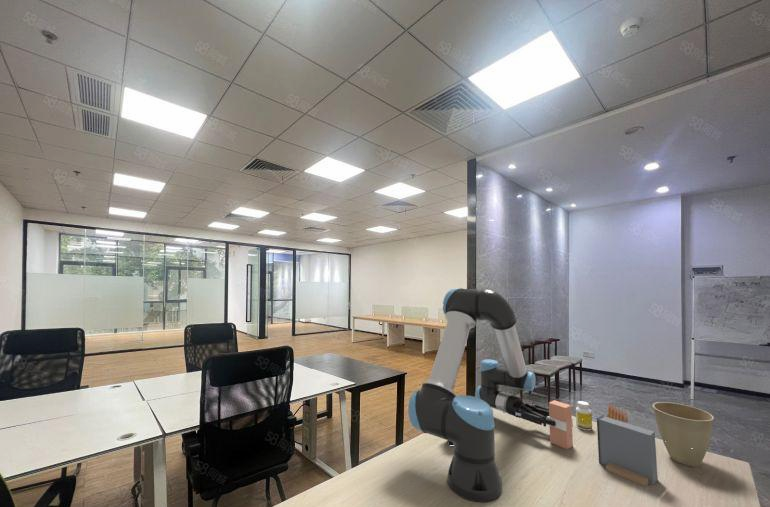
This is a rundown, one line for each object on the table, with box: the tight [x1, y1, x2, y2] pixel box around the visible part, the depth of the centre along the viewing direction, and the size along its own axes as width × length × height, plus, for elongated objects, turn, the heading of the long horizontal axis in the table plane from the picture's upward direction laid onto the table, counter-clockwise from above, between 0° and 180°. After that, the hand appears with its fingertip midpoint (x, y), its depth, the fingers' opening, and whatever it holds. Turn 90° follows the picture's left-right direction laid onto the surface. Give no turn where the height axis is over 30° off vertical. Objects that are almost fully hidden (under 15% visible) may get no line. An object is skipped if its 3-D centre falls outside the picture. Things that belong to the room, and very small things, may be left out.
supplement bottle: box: [575, 400, 593, 431], centre depth 130 cm, size 5×5×10 cm
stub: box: [548, 399, 574, 450], centre depth 117 cm, size 6×4×14 cm, turn 36°
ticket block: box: [596, 414, 659, 487], centre depth 101 cm, size 14×9×14 cm, turn 36°
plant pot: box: [652, 401, 715, 468], centre depth 107 cm, size 15×15×16 cm
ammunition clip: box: [606, 402, 629, 424], centre depth 120 cm, size 11×2×12 cm, turn 178°
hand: (569, 425), depth 114 cm, fingers closed on stub, 4 cm apart
